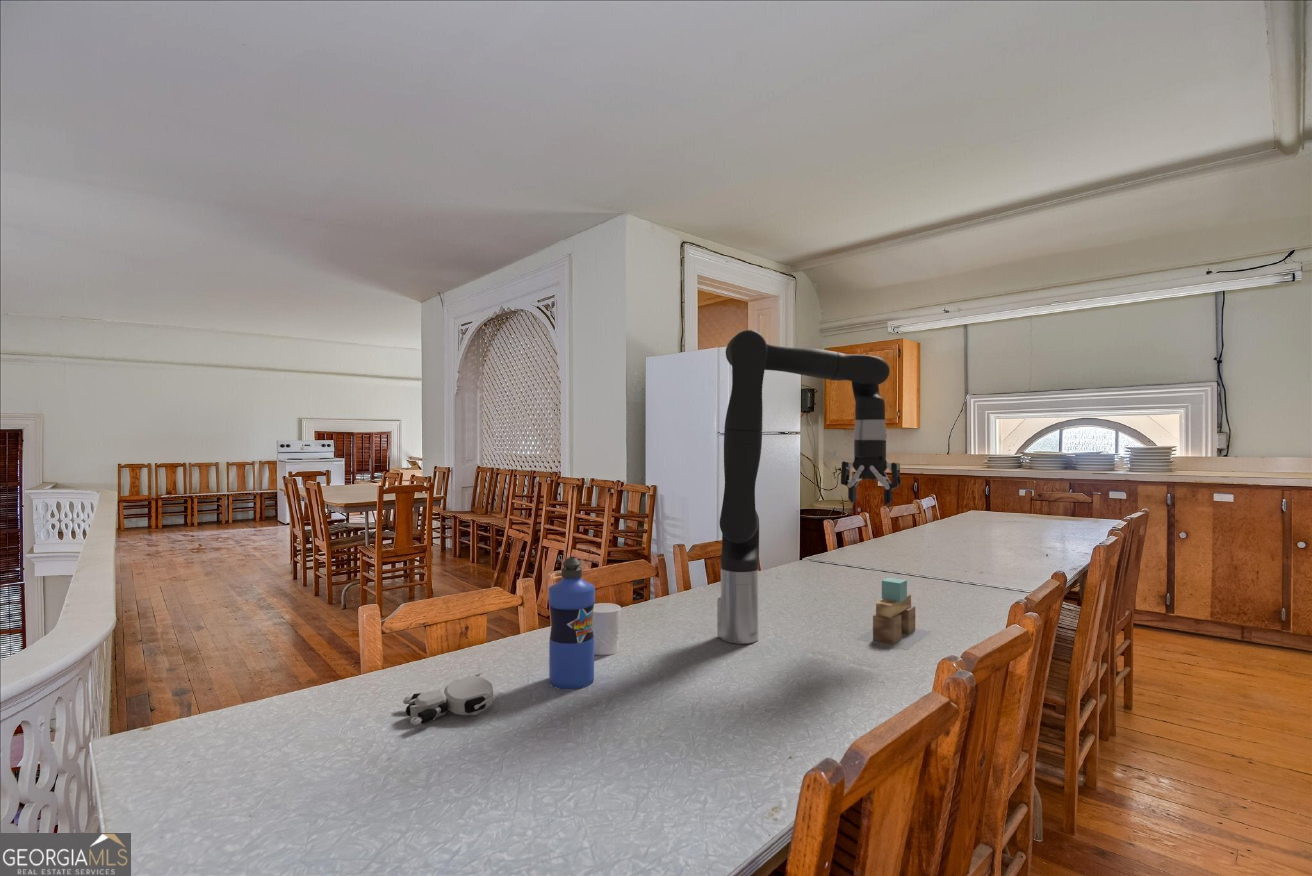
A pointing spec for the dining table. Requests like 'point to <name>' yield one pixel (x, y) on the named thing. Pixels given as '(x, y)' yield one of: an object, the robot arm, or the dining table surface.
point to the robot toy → (451, 700)
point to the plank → (892, 607)
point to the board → (905, 640)
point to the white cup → (606, 628)
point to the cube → (894, 589)
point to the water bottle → (571, 629)
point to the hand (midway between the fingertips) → (870, 503)
